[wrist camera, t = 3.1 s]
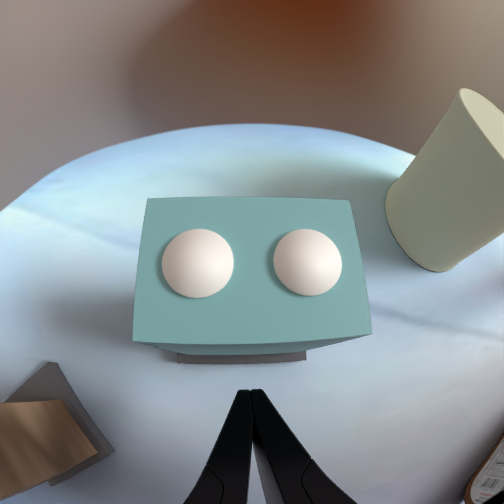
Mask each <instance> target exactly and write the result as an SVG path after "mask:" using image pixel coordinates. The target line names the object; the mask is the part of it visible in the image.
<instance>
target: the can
mask: <svg viewBox="0 0 504 504" xmlns="http://www.w3.org/2000/svg"><path fill="white" fill-rule="evenodd" d="M385 210H386V216H387V220H388V223H389V226H390V229H391V231H392V233H393V235H394V237H395V239H396V240H397V242H398V243H399V245H400V246H401V248H402V249H403V250H404V251H405V253H406V254H407V255H408V256H409V257H410V258H411V259H412V260H414V261H415V262H416V263H417V264H419V265H420V266H422V267H424V268H426V269H428V270H431V271H435V272H444V271H448V270H451V269H452V268H454V267H455V266H456V265H457V264H458V263H459V262H461V261H462V260H464V259H465V258H467V257H468V256H470V255H471V254H473V253H474V252H476V251H477V250H479V249H480V248H482V247H483V246H485V245H486V244H488V243H489V242H491V241H492V240H494V239H495V238H497V237H498V236H499V235H501V234H502V233H504V114H503V113H502V112H501V111H500V110H499V109H498V108H497V107H496V106H494V105H493V104H492V103H491V102H490V101H488V100H487V99H485V98H484V97H483V96H481V95H479V94H478V93H476V92H474V91H472V90H469V89H466V88H462V89H460V90H459V91H458V93H457V95H456V97H455V99H454V101H453V102H452V104H451V106H450V107H449V109H448V111H447V112H446V114H445V115H444V117H443V118H442V120H441V121H440V123H439V124H438V126H437V127H436V129H435V130H434V132H433V133H432V135H431V136H430V138H429V139H428V141H427V142H426V143H425V145H424V146H423V147H422V149H421V150H420V152H419V153H418V154H417V156H416V157H415V158H414V160H413V161H412V162H411V164H410V165H409V166H408V168H407V169H406V170H405V172H404V173H403V174H402V175H401V177H400V178H399V179H398V180H397V181H395V182H394V183H393V184H392V185H391V187H390V188H389V190H388V192H387V195H386V201H385Z"/></svg>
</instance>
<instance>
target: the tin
mask: <svg viewBox="0 0 504 504" xmlns="http://www.w3.org/2000/svg"><path fill="white" fill-rule="evenodd" d="M503 488H504V434H503V435H502V437H501V438H500V440H499V441H498V443H497V444H496V446H495V447H494V449H493V450H492V451H491V453H490V454H489V456H488V457H487V458H486V460H485V461H484V462H483V464H482V465H481V466H480V467H479V469H478V470H477V471H476V472H475V474H474V475H473V476H472V478H471V480H470V481H469V483H468V485H467V487H466V491H465V495H464V502H465V504H482V503H483V502H484V501H486V500H487V499H489V498H490V497H492V496H493V495H495V494H496V493H498V492H499V491H500V490H502V489H503Z"/></svg>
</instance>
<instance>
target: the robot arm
mask: <svg viewBox="0 0 504 504" xmlns="http://www.w3.org/2000/svg"><path fill="white" fill-rule="evenodd" d="M252 443H253V449H254V453H255V458H256V462H257V466H258V471H259V475H260V479H261V483H262V488H263V492H264V496H265V500H266V504H357V503H356V502H355V501H354V500H353V499H351V498H350V497H349V496H348V495H347V494H346V493H344V492H343V491H342V490H341V489H340V488H339V487H338V486H337V485H336V484H335V483H333V482H332V481H331V480H330V479H329V478H328V477H327V476H326V474H325V473H324V472H323V471H322V470H321V469H320V467H319V466H318V465H317V464H316V462H315V461H314V460H313V459H311V456H310V455H309V454H308V452H307V451H306V450H305V448H304V447H303V446H302V444H301V443H300V442H299V440H298V439H297V438H296V436H295V435H294V433H293V432H292V431H291V429H290V428H289V427H288V425H287V424H286V422H285V421H284V420H283V418H282V417H281V415H280V414H279V413H278V411H277V410H276V408H275V407H274V405H273V404H272V403H271V401H270V400H269V398H268V397H267V395H266V394H265V392H264V391H263V390H262V389H252V390H251V391H250V390H238V392H237V394H236V396H235V399H234V401H233V404H232V406H231V408H230V411H229V413H228V415H227V418H226V420H225V422H224V425H223V427H222V429H221V432H220V434H219V436H218V439H217V441H216V443H215V445H214V448H213V450H212V452H211V454H210V456H209V459H208V461H207V463H206V466H205V467H204V469H203V471H202V474H201V476H200V477H199V479H198V481H197V483H196V485H195V487H194V488H193V490H192V491H191V493H190V495H189V496H188V498H187V499H186V500H185V502H184V503H183V504H247V501H248V489H249V477H250V465H251V452H252ZM482 504H504V488H503V489H502V490H500V491H499V492H498V493H496V494H495V495H493V496H492V497H490V498H489V499H487V500H486V501H484V502H483V503H482Z"/></svg>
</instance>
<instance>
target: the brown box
mask: <svg viewBox="0 0 504 504" xmlns="http://www.w3.org/2000/svg"><path fill="white" fill-rule="evenodd" d="M96 453H97V451H96V449H95V448H94V447H93V445H92V444H91V443H90V441H89V440H88V439H87V437H86V436H85V435H84V433H83V432H82V430H81V429H80V427H79V426H78V425H77V423H76V422H75V420H74V419H73V417H72V416H71V414H70V412H69V411H68V409H67V408H66V406H65V404H64V403H63V401H62V399H59V400H49V401H36V402H19V403H0V501H1V500H4V499H6V498H9V497H11V496H14V495H16V494H19V493H21V492H24V491H26V490H28V489H31V488H33V487H35V486H37V485H39V484H42V483H44V482H46V481H48V480H50V479H52V478H54V477H56V476H58V475H59V474H61V473H63V472H65V471H67V470H68V469H70V468H72V467H74V466H76V465H77V464H79V463H81V462H82V461H84V460H86V459H88V458H89V457H91V456H93V455H94V454H96Z"/></svg>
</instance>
